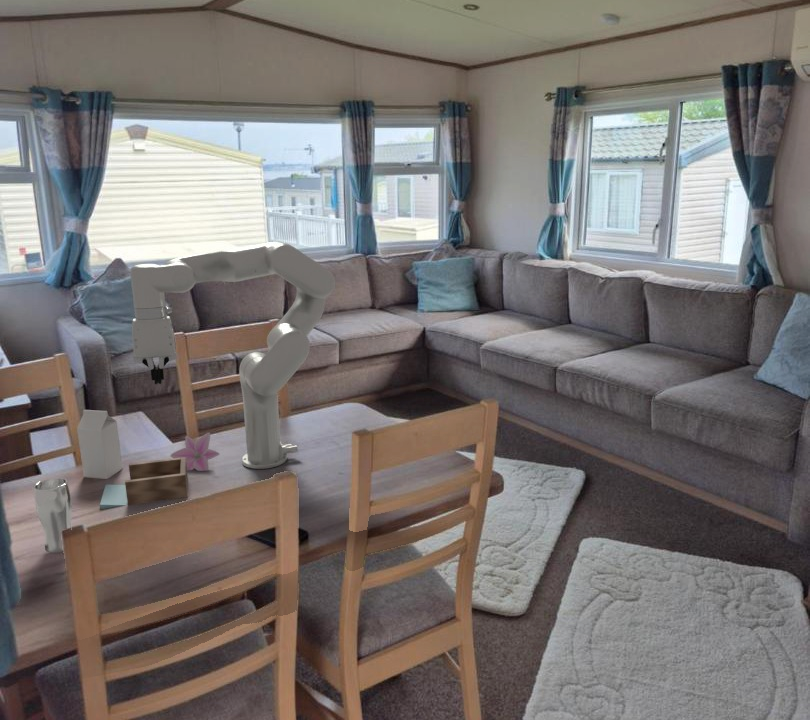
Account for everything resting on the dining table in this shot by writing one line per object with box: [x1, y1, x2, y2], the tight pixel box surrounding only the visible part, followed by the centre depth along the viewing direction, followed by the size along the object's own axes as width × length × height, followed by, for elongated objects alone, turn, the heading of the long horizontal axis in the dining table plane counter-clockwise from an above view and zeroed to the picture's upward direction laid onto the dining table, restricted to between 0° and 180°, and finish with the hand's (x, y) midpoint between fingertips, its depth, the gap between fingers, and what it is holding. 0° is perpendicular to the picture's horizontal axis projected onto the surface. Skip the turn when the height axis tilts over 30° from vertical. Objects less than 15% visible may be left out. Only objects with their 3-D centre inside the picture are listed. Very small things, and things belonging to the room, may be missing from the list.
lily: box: [170, 432, 220, 472], centre depth 192 cm, size 12×12×10 cm
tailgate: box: [99, 483, 128, 510], centre depth 174 cm, size 1×12×6 cm
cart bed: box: [124, 457, 189, 506], centre depth 176 cm, size 14×12×7 cm
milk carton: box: [76, 409, 124, 480], centre depth 186 cm, size 7×7×19 cm
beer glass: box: [33, 477, 73, 554], centre depth 151 cm, size 7×7×15 cm
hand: (158, 382), depth 180 cm, fingers closed
